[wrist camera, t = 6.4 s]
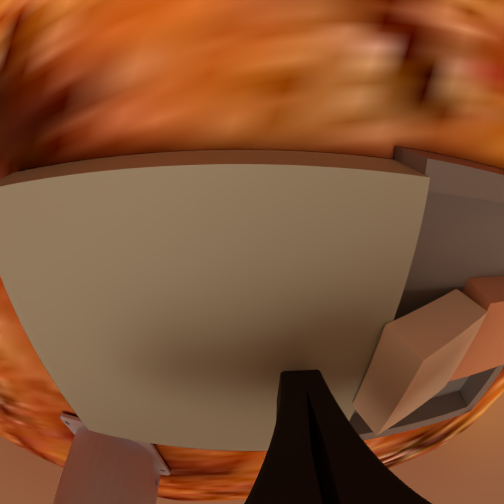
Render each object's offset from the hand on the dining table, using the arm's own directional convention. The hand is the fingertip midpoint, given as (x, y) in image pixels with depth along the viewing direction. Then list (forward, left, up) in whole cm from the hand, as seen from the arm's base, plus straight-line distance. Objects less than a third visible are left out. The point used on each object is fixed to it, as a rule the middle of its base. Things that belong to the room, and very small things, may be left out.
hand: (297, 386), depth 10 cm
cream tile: (0, -5, -1) cm, 5 cm away
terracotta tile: (0, -11, -2) cm, 11 cm away
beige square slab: (0, +4, -3) cm, 5 cm away
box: (0, -9, -3) cm, 9 cm away
